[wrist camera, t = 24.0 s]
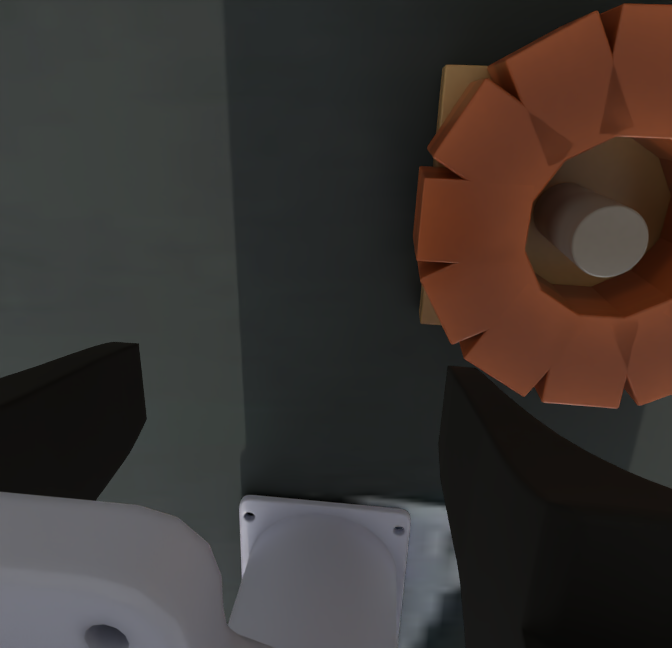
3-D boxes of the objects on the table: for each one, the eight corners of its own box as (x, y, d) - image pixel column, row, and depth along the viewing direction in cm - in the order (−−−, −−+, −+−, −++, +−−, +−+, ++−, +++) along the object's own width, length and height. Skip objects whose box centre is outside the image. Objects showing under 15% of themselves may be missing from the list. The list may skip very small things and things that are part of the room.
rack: (652, 328, 22) (735, 401, 16) (418, 313, 22) (426, 379, 17) (719, 75, 18) (851, 64, 13) (442, 66, 19) (460, 52, 14)
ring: (712, 376, 21) (765, 422, 18) (401, 352, 22) (402, 392, 19) (827, 28, 17) (922, 11, 14) (433, 14, 17) (441, -3, 14)
